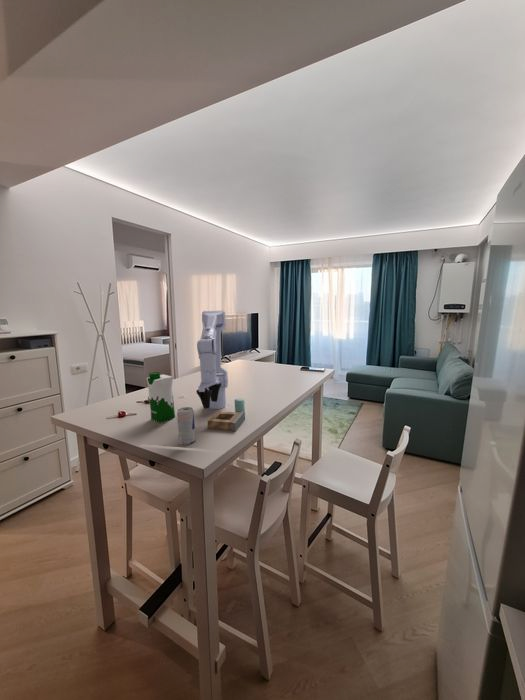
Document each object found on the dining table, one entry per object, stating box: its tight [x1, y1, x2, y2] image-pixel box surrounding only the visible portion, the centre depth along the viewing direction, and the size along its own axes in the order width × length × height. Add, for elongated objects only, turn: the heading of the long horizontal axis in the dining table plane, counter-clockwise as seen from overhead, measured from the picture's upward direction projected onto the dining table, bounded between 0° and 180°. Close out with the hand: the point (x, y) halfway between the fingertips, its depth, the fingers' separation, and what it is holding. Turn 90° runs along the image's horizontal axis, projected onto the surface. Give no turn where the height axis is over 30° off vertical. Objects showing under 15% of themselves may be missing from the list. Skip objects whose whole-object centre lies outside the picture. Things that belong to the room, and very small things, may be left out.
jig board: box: [232, 411, 246, 433], centre depth 117 cm, size 20×12×4 cm, turn 76°
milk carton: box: [145, 371, 176, 424], centre depth 124 cm, size 9×9×20 cm
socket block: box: [207, 410, 241, 431], centre depth 116 cm, size 10×10×3 cm
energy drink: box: [176, 406, 197, 446], centre depth 102 cm, size 5×5×12 cm
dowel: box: [234, 397, 246, 413], centre depth 126 cm, size 4×4×7 cm
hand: (210, 404), depth 116 cm, fingers open, 7 cm apart
